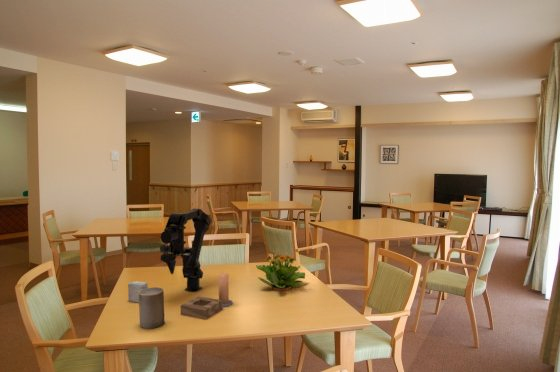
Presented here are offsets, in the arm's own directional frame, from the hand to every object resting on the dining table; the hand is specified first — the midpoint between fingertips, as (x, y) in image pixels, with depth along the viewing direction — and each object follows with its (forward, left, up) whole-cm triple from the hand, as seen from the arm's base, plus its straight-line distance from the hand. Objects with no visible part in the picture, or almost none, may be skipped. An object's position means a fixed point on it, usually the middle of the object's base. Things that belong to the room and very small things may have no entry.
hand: (178, 271), depth 192 cm
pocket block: (+9, +21, -13) cm, 26 cm away
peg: (-3, +24, -12) cm, 27 cm away
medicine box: (+11, -15, -13) cm, 23 cm away
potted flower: (-34, +38, -13) cm, 53 cm away
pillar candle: (+29, +10, -13) cm, 33 cm away
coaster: (-3, +24, -13) cm, 27 cm away
